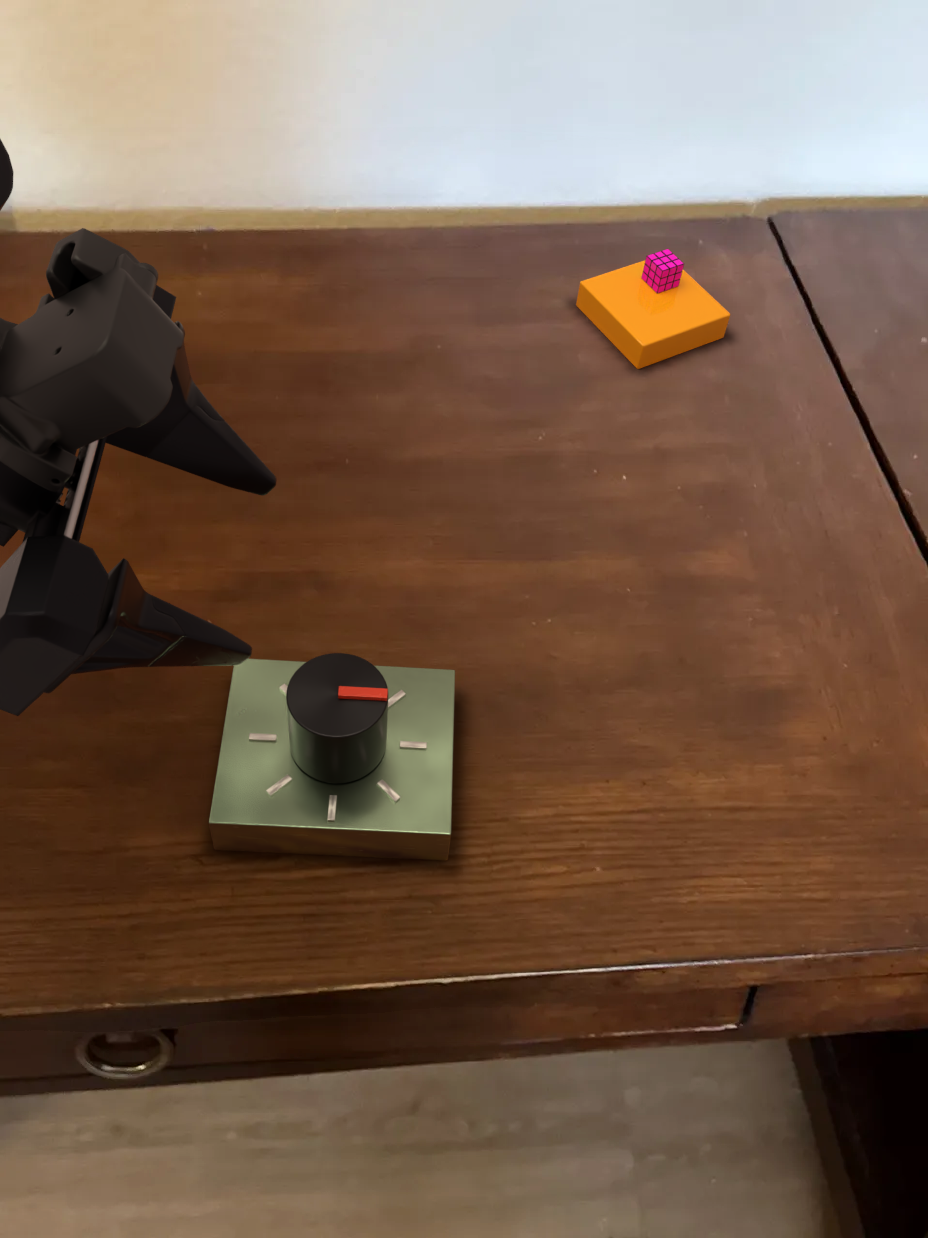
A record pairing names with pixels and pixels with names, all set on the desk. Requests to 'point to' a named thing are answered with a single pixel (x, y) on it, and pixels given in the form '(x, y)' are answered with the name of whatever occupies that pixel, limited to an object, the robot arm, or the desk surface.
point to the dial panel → (335, 812)
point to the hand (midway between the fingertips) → (259, 567)
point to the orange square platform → (652, 309)
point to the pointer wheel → (337, 717)
